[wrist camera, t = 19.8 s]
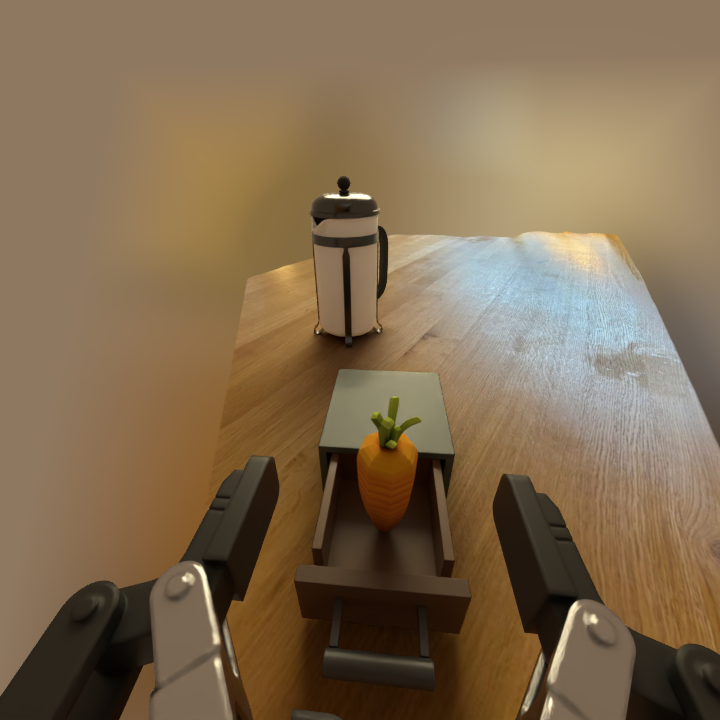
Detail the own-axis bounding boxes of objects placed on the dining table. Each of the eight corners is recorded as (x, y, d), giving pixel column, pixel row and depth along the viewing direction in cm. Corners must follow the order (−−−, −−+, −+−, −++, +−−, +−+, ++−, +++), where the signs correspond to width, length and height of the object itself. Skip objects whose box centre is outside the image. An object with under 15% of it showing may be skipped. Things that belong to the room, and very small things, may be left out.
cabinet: (445, 503, 36) (455, 454, 32) (323, 494, 37) (318, 446, 34) (432, 415, 49) (438, 372, 45) (341, 411, 50) (339, 368, 46)
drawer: (470, 714, 22) (486, 684, 19) (287, 692, 23) (275, 659, 20) (439, 487, 37) (445, 450, 34) (330, 479, 38) (327, 443, 35)
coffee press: (388, 349, 66) (395, 177, 50) (309, 348, 67) (291, 178, 51) (385, 314, 81) (390, 173, 65) (320, 314, 81) (310, 174, 66)
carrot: (379, 497, 35) (383, 379, 27) (420, 527, 32) (437, 405, 24) (347, 531, 32) (341, 409, 24) (389, 567, 29) (397, 442, 21)
